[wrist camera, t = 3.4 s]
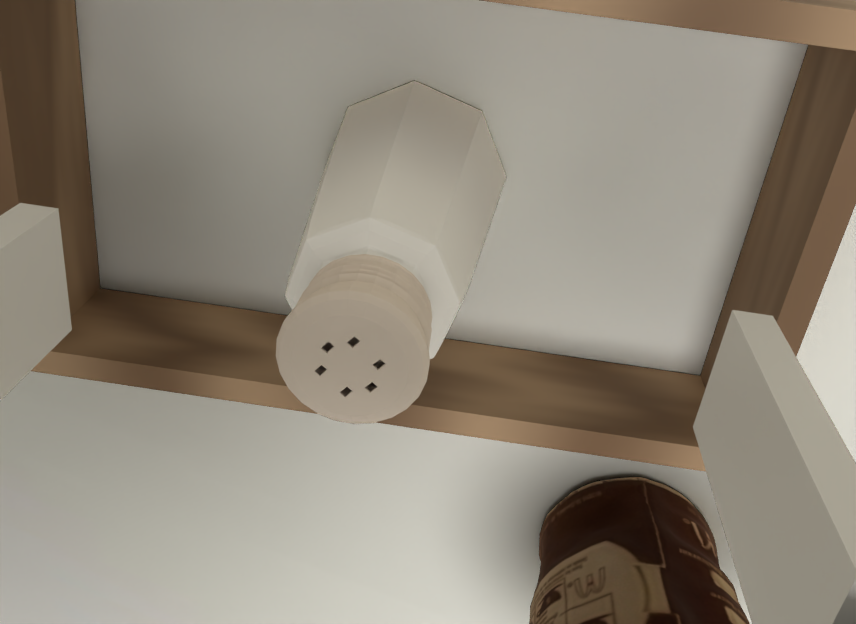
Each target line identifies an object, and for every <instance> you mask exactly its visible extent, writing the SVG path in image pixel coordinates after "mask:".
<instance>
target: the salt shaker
mask: <svg viewBox="0 0 856 624" xmlns="http://www.w3.org/2000/svg"><path fill="white" fill-rule="evenodd" d="M506 178H507V177H506V175H505V172H504V169H503V166H502V164H501V161H500V158H499V156H498V153H497V150H496V147H495V145H494V142H493V139H492V137H491V134H490V131H489V129H488V126H487V123H486V120H485V118H484V115H483V112H482V111H481V110H478V109H476V108H474V107H472V106H470V105H467V104H465V103H463V102H461V101H459V100H456V99H454V98H452V97H450V96H448V95H445V94H443V93H441V92H439V91H437V90H434V89H432V88H430V87H428V86H425V85H423V84H421V83H419V82H417V81H412V82H410V83H407V84H405V85H402V86H400V87H397V88H394V89H392V90H389V91H387V92H384V93H382V94H379V95H377V96H374V97H372V98H369V99H367V100H364V101H362V102H359V103H356V104H354V105H351V106H349V107H348V108H347V111H346V113H345V116H344V119H343V121H342V124H341V127H340V129H339V132H338V135H337V137H336V140H335V143H334V145H333V148H332V151H331V153H330V156H329V159H328V161H327V164H326V167H325V169H324V172H323V175H322V178H321V181H320V184H319V187H318V190H317V193H316V196H315V200H314V203H313V206H312V209H311V212H310V215H309V218H308V221H307V224H306V227H305V230H304V233H303V236H302V239H301V242H300V245H299V248H298V251H297V255H296V258H295V261H294V264H293V267H292V270H291V273H290V276H289V279H288V283H287V288H286V293H285V298H286V300H287V302H288V303H289V305H290V307H291V309H292V311H291V312H290V314H289V315H288V316H287V317H286V319H285V320H284V322H283V324H282V326H281V329H280V331H279V334H278V337H277V342H276V359H277V363H278V367H279V372H280V374H281V376H282V378H283V380H284V381H285V383H286V385H287V387H288V389H289V390H290V391H291V392H292V393H293V394H294V395H295V396H296V397H297V398H298V399H299V400H300V401H301V403H303V404H304V405H306V406H307V407H309V408H310V409H312V410H313V411H315V412H316V413H318V414H320V415H322V416H325V417H327V418H330V419H332V420H335V421H340V422H346V423H352V424H360V423H375V422H379V421H382V420H386V419H389V418H392V417H394V416H396V415H397V414H399V413H401V412H402V411H404V410H406V409H407V408H408V407H409V406H410V405H411V404H412V403H413V402H414V401H415V400H416V399H417V398H418V397H419V395H420V394H421V392H422V390H423V388H424V386H425V384H426V382H427V377H428V371H429V365H430V359H432V358H434V357H435V355H436V353H437V352H438V350H439V348H440V347H441V345H442V343H443V341H444V339H445V337H446V335H447V333H448V331H449V329H450V327H451V325H452V323H453V321H454V319H455V317H456V315H457V313H458V311H459V309H460V306H461V304H462V302H463V300H464V297H465V295H466V293H467V291H468V288H469V285H470V282H471V279H472V277H473V274H474V271H475V268H476V265H477V262H478V259H479V256H480V253H481V250H482V247H483V245H484V242H485V239H486V236H487V233H488V230H489V227H490V224H491V221H492V218H493V215H494V213H495V210H496V207H497V204H498V201H499V198H500V195H501V192H502V189H503V186H504V183H505V181H506Z"/></svg>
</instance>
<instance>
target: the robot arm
mask: <svg viewBox="0 0 856 624" xmlns="http://www.w3.org/2000/svg"><path fill="white" fill-rule="evenodd" d="M71 330H72V325H71V316H70V307H69V298H68V290H67V281H66V272H65V263H64V254H63V245H62V236H61V228H60V219H59V210H58V208H52V207H45V206H38V205H32V204H25V203H19V204H18V205H16V206H15V207H13V208H11V209H10V210H8V211H7V212H5V213H4V214H2V215H1V216H0V401H1V400H2V399H3V398H4V397H5V396H6V395H7V394H8V393H9V392H10V391H11V390H12V389H13V388H14V387H15V386H16V385H17V384H18V383H19V382H20V381H21V380H22V379H23V378H24V377H25V376H26V375H27V374H28V373H29V372H30V371H31V370H32V369H33V368H34V367H35V366H36V365H37V364H38V363H39V362H40V361H41V360H42V359H43V358H44V357H45V356H46V355H47V354H48V353H49V352H50V351H51V350H52V349H53V348H54V347H55V346H56V345H57V344H58V343H59V342H60V341H61V340H62V339H63V338H64V337H65V336H66V335H67V334H68V333H69V332H70V331H71ZM693 429H694V432H695V436H696V439H697V442H698V446H699V449H700V452H701V456H702V459H703V462H704V466H705V469H706V472H707V476H708V479H709V482H710V485H711V489H712V492H713V495H714V499H715V502H716V505H717V509H718V512H719V515H720V519H721V522H722V525H723V529H724V532H725V535H726V538H727V542H728V545H729V548H730V552H731V555H732V558H733V562H734V565H735V568H736V572H737V575H738V578H739V581H740V585H741V588H742V591H743V595H744V598H745V601H746V605H747V608H748V611H749V615H750V618H751V621H752V624H856V463H855V461H854V459H853V457H852V456H851V454H850V452H849V450H848V448H847V447H846V445H845V443H844V441H843V440H842V438H841V436H840V434H839V432H838V431H837V429H836V427H835V425H834V424H833V422H832V420H831V418H830V416H829V415H828V413H827V411H826V409H825V408H824V406H823V404H822V402H821V400H820V399H819V397H818V395H817V393H816V392H815V390H814V388H813V386H812V384H811V383H810V381H809V379H808V377H807V375H806V374H805V372H804V370H803V368H802V367H801V365H800V363H799V361H798V359H797V358H796V356H795V354H794V352H793V351H792V349H791V347H790V345H789V343H788V342H787V340H786V338H785V336H784V335H783V333H782V331H781V329H780V327H779V326H778V324H777V322H776V320H775V319H774V317H773V316H771V315H764V314H757V313H751V312H744V311H737V310H732V312H731V315H730V318H729V321H728V324H727V327H726V330H725V333H724V336H723V339H722V342H721V345H720V348H719V351H718V354H717V357H716V359H715V362H714V365H713V368H712V371H711V374H710V377H709V380H708V383H707V386H706V389H705V392H704V395H703V398H702V401H701V404H700V407H699V410H698V413H697V416H696V419H695V422H694V425H693Z"/></svg>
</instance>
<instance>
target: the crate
mask: <svg viewBox="0 0 856 624" xmlns="http://www.w3.org/2000/svg"><path fill="white" fill-rule="evenodd" d="M481 1H489V2H496V3H503V4H511V5H518V6H526V7H533V8H541V9H548V10H555V11H563V12H570V13H578V14H585V15H593V16H600V17H607V18H615V19H622V20H630V21H637V22H645V23H652V24H660V25H667V26H674V27H682V28H689V29H697V30H704V31H712V32H719V33H726V34H734V35H741V36H749V37H756V38H764V39H771V40H779V41H786V42H793V43H801V44H808V45H809V46H808V49H807V52H806V55H805V58H804V61H803V64H802V67H801V70H800V73H799V76H798V79H797V82H796V85H795V88H794V91H793V94H792V98H791V101H790V104H789V107H788V110H787V113H786V116H785V119H784V122H783V125H782V128H781V131H780V134H779V137H778V140H777V143H776V146H775V149H774V152H773V156H772V159H771V162H770V165H769V168H768V171H767V174H766V177H765V180H764V183H763V186H762V189H761V192H760V195H759V198H758V201H757V204H756V207H755V210H754V213H753V217H752V220H751V223H750V226H749V229H748V232H747V235H746V238H745V241H744V244H743V247H742V250H741V253H740V256H739V259H738V262H737V265H736V268H735V271H734V274H733V278H732V281H731V284H730V287H729V290H728V293H727V296H726V299H725V302H724V305H723V308H722V311H721V314H720V317H719V320H718V323H717V326H716V329H715V332H714V335H713V339H712V342H711V345H710V348H709V351H708V354H707V357H706V360H705V363H704V366H703V369H702V372H701V375H700V376H698V375H691V374H685V373H678V372H671V371H664V370H657V369H650V368H643V367H637V366H630V365H623V364H616V363H609V362H602V361H595V360H588V359H582V358H575V357H568V356H561V355H554V354H547V353H540V352H534V351H527V350H520V349H513V348H506V347H499V346H492V345H486V344H479V343H472V342H465V341H458V340H451V339H444V341H443V343H442V345H441V347H440V348H439V350H438V352H437V353H436V355H435V357H434V358H432V359H430V365H429V371H428V377H427V382H426V384H425V386H424V388H423V390H422V392H421V394H420V395H419V397H418V398H417V399H416V400H415V401H414V402H413V403H412V404H411V405H410V406H409V407H408V408H407V409H406V410H404V411H402V412H401V413H399V414H397V415H396V416H394V417H392V418H389V419H386V420H382V421H379V422H377V423H384V424H390V425H397V426H404V427H410V428H417V429H424V430H431V431H437V432H444V433H451V434H457V435H464V436H471V437H478V438H484V439H491V440H498V441H504V442H511V443H518V444H525V445H531V446H538V447H545V448H552V449H558V450H565V451H572V452H578V453H585V454H592V455H599V456H605V457H612V458H619V459H625V460H632V461H639V462H646V463H652V464H659V465H666V466H672V467H679V468H686V469H693V470H699V471H706V469H705V466H704V462H703V459H702V456H701V452H700V449H699V446H698V442H697V439H696V436H695V432H694V429H693V425H694V422H695V419H696V416H697V413H698V410H699V407H700V404H701V401H702V398H703V395H704V392H705V389H706V386H707V383H708V380H709V377H710V374H711V371H712V368H713V365H714V362H715V359H716V357H717V354H718V351H719V348H720V345H721V342H722V339H723V336H724V333H725V330H726V327H727V324H728V321H729V318H730V315H731V312H732V310H737V311H744V312H751V313H757V314H764V315H771V316H773V317H774V319H775V320H776V322H777V324H778V326H779V327H780V329H781V331H782V333H783V335H784V336H785V338H786V340H787V342H788V343H789V345H790V347H791V349H792V351H793V352H794V354H795V356H797V353H798V351H799V348H800V345H801V343H802V340H803V338H804V335H805V333H806V330H807V328H808V325H809V322H810V320H811V317H812V315H813V312H814V310H815V307H816V304H817V302H818V299H819V297H820V294H821V292H822V289H823V286H824V284H825V281H826V279H827V276H828V274H829V271H830V269H831V266H832V263H833V261H834V258H835V256H836V253H837V251H838V248H839V245H840V243H841V240H842V238H843V235H844V233H845V230H846V228H847V225H848V222H849V220H850V217H851V215H852V212H853V210H854V207H855V204H856V0H481ZM19 203H25V204H32V205H38V206H45V207H52V208H58V210H59V219H60V228H61V236H62V245H63V254H64V263H65V272H66V281H67V290H68V298H69V307H70V316H71V325H72V330H71V331H70V332H69V333H68V334H67V335H66V336H65V337H64V338H63V339H62V340H61V341H60V342H59V343H58V344H57V345H56V346H55V347H54V348H53V349H52V350H51V351H50V352H49V353H48V354H47V355H46V356H45V357H44V358H43V359H42V360H41V361H40V362H39V363H38V364H37V365H36V366H35V367H34V368H33V369H32V370H31V371H34V372H41V373H48V374H55V375H61V376H68V377H75V378H81V379H88V380H95V381H102V382H108V383H115V384H122V385H128V386H135V387H142V388H149V389H155V390H162V391H169V392H175V393H182V394H189V395H196V396H202V397H209V398H216V399H222V400H229V401H236V402H243V403H249V404H256V405H263V406H269V407H276V408H283V409H290V410H296V411H303V412H310V413H316V412H315V411H313V410H312V409H310V408H309V407H307V406H306V405H304V404H303V403H301V401H300V400H299V399H298V398H297V397H296V396H295V395H294V394H293V393H292V392H291V391H290V390H289V389H288V387H287V385H286V383H285V381H284V380H283V378H282V376H281V374H280V372H279V367H278V363H277V359H276V342H277V337H278V334H279V331H280V329H281V326H282V324H283V322H284V320H285V319H286V317H287V315H280V314H273V313H266V312H259V311H252V310H246V309H239V308H232V307H225V306H218V305H211V304H204V303H198V302H191V301H184V300H177V299H170V298H163V297H156V296H150V295H143V294H136V293H129V292H122V291H115V290H108V289H101V288H100V280H99V269H98V257H97V246H96V235H95V224H94V212H93V201H92V190H91V179H90V167H89V156H88V145H87V134H86V122H85V111H84V100H83V88H82V77H81V66H80V55H79V43H78V32H77V21H76V10H75V0H0V216H1V215H2V214H4V213H5V212H7V211H8V210H10V209H11V208H13V207H15V206H16V205H18V204H19ZM316 414H318V413H316Z"/></svg>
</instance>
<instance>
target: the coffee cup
mask: <svg viewBox="0 0 856 624" xmlns="http://www.w3.org/2000/svg"><path fill="white" fill-rule="evenodd" d="M539 535H540V539H539V557H540V560H541V567H540V575H539V579H538V583H537V587H536V590H535V592H534V597H533V600H532V603H531V606H530V621H529V624H749V621H748V619H747V617H746V615H745V613H744V612H743V610H742V608H741V606H740V604H739V602H738V598H737V595H736V592H735V589H734V587H733V584H732V583H731V582H730V580H729V579H728V578H727V576H726V575H725V573H724V572H722V571H721V570H720V567H719V563H718V556H717V549H716V544H715V540H714V537H713V534H712V532H711V530H710V528H709V525H708V524H707V522H706V520H705V519H704V517H703V516H702V514H701V513H700V512H699V511H698V510H697V509H696V508H695V507H694V506H693V505H692V503H691V502H690V501H689V500H688V499H687V498H685V497H684V496H683V495H681V494H680V493H679V492H678V491H676V490H674V489H672V488H670V487H668V486H666V485H664V484H661V483H658V482H655V481H652V480H649V479H646V478H641V477H628V478H616V479H609V480H602V481H597V482H593V483H590V484H588V485H585V486H583V487H581V488H579V489H577V490H575V491H573V492H572V493H570V494H569V495H568V496H567V497H565V498H564V499H563V500H562V501H561V502H560V503H558V504H557V505H556V506H555V507H554V508H553V509H552V510H551V511H550V512H549V513H548V515H547V516H546V518H545V520H544V523H543V526H542V529H541V532H540V534H539Z"/></svg>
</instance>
